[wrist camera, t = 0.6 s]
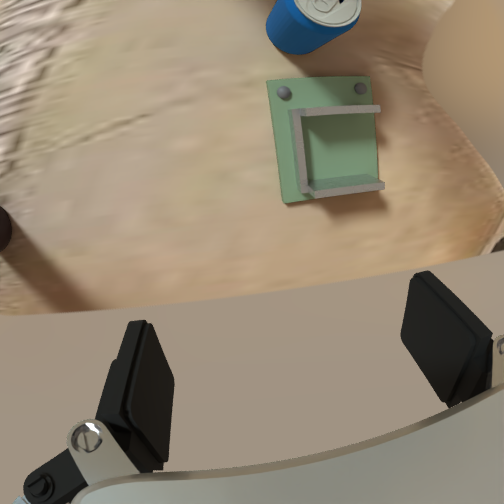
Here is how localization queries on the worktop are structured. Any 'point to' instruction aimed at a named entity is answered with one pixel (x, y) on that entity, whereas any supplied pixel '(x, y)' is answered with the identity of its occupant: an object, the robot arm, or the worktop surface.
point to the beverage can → (310, 23)
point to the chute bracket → (334, 184)
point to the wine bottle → (4, 229)
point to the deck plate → (323, 130)
